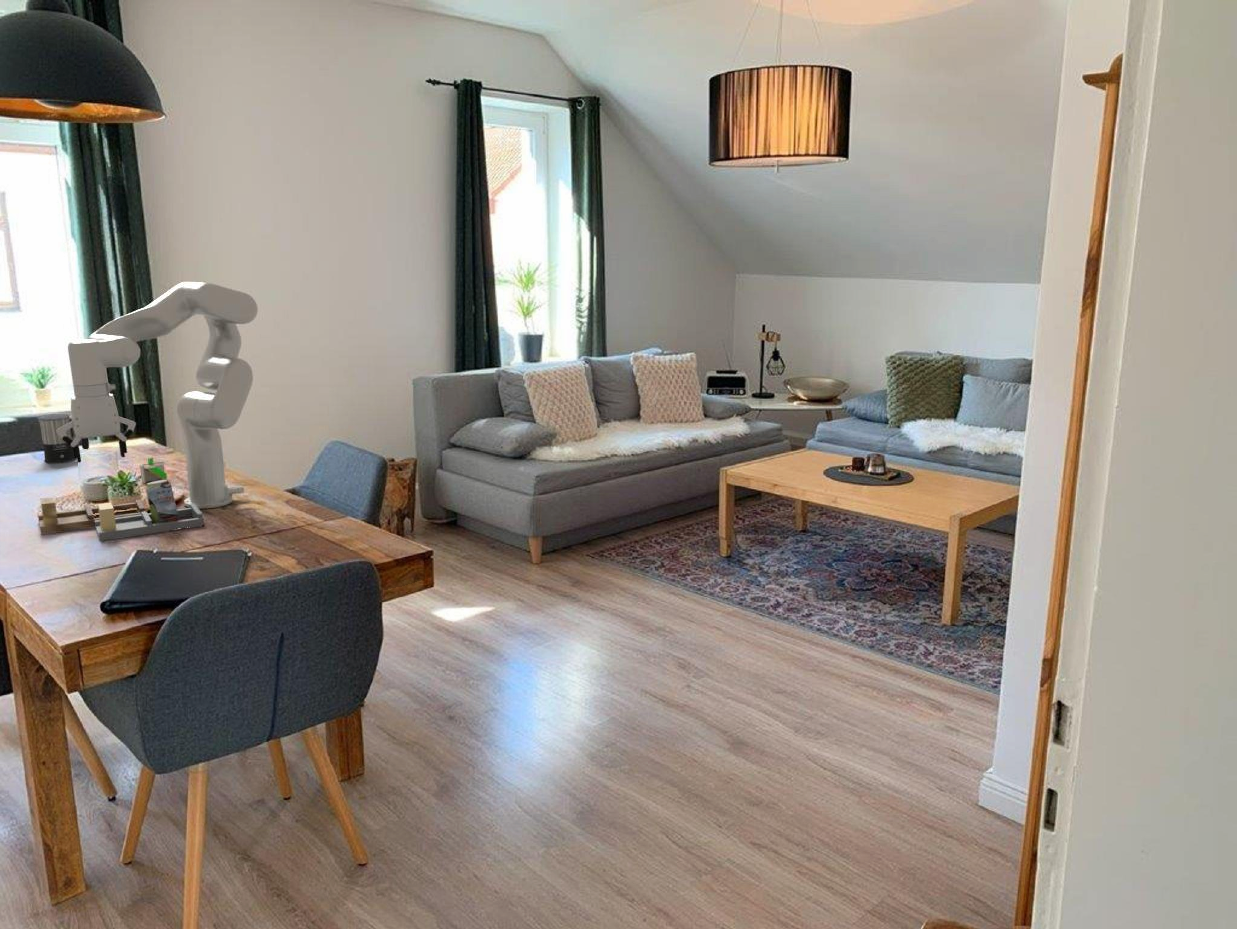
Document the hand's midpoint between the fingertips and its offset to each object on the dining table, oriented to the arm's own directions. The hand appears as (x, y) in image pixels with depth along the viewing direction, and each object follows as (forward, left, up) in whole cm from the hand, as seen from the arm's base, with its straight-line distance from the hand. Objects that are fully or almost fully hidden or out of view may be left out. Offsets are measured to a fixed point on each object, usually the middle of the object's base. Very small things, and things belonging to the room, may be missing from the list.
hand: (101, 458), depth 235 cm
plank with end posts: (+3, -13, -19) cm, 23 cm away
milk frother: (+5, -98, -20) cm, 100 cm away
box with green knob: (-17, -50, -20) cm, 56 cm away
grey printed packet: (-13, 0, -20) cm, 23 cm away
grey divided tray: (-9, 0, -19) cm, 21 cm away
